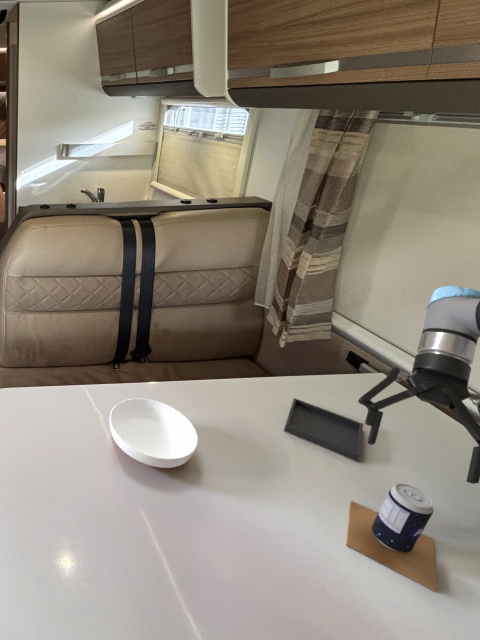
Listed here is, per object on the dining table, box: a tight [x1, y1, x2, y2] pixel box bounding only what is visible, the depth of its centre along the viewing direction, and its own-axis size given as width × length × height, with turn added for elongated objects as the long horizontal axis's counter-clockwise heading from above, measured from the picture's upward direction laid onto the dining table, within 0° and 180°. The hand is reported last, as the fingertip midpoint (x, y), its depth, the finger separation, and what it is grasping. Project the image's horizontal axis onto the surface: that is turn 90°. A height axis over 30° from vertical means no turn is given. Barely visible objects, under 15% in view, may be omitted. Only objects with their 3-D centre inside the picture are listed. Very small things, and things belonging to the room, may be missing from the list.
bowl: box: [109, 397, 199, 469], centre depth 102 cm, size 20×20×6 cm
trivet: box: [345, 500, 439, 593], centre depth 81 cm, size 12×12×1 cm
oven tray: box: [283, 398, 364, 463], centre depth 107 cm, size 14×13×2 cm
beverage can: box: [372, 483, 434, 552], centre depth 78 cm, size 6×6×12 cm
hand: (419, 461), depth 80 cm, fingers open, 13 cm apart
